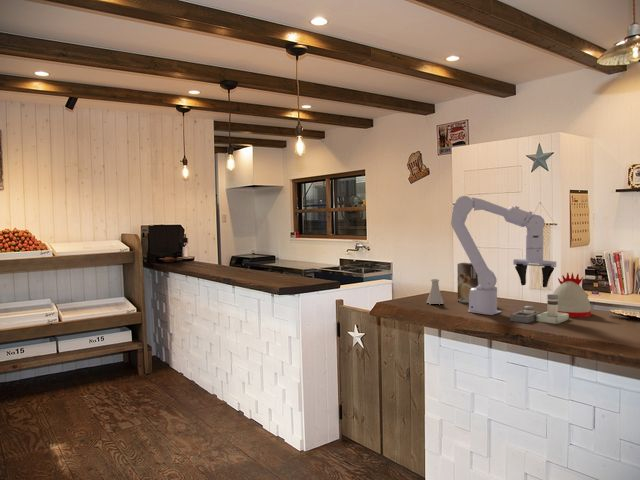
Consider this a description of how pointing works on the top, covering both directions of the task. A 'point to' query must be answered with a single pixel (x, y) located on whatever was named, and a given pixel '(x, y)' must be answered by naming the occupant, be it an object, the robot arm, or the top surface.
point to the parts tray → (552, 318)
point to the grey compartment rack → (525, 315)
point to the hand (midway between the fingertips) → (534, 286)
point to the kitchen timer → (572, 297)
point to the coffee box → (466, 280)
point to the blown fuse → (552, 305)
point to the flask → (435, 293)
